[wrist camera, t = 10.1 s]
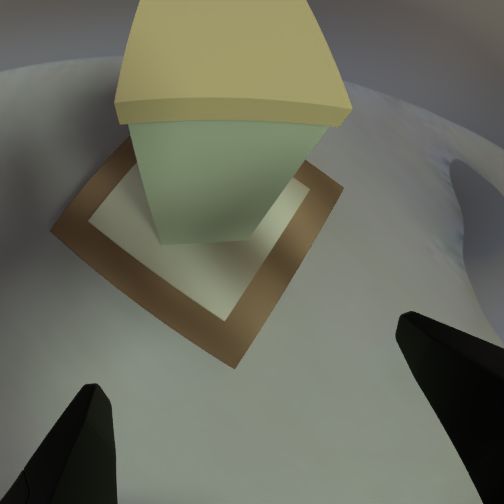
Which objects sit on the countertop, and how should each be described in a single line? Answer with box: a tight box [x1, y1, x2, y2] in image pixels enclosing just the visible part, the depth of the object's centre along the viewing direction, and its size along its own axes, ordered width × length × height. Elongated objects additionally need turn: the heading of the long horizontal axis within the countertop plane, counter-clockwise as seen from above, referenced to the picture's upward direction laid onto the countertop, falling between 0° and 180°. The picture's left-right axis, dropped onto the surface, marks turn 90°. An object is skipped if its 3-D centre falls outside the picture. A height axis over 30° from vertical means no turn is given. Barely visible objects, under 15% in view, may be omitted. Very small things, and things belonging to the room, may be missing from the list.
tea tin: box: [114, 0, 353, 245], centre depth 12 cm, size 5×5×12 cm
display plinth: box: [50, 135, 344, 369], centre depth 19 cm, size 14×14×2 cm
